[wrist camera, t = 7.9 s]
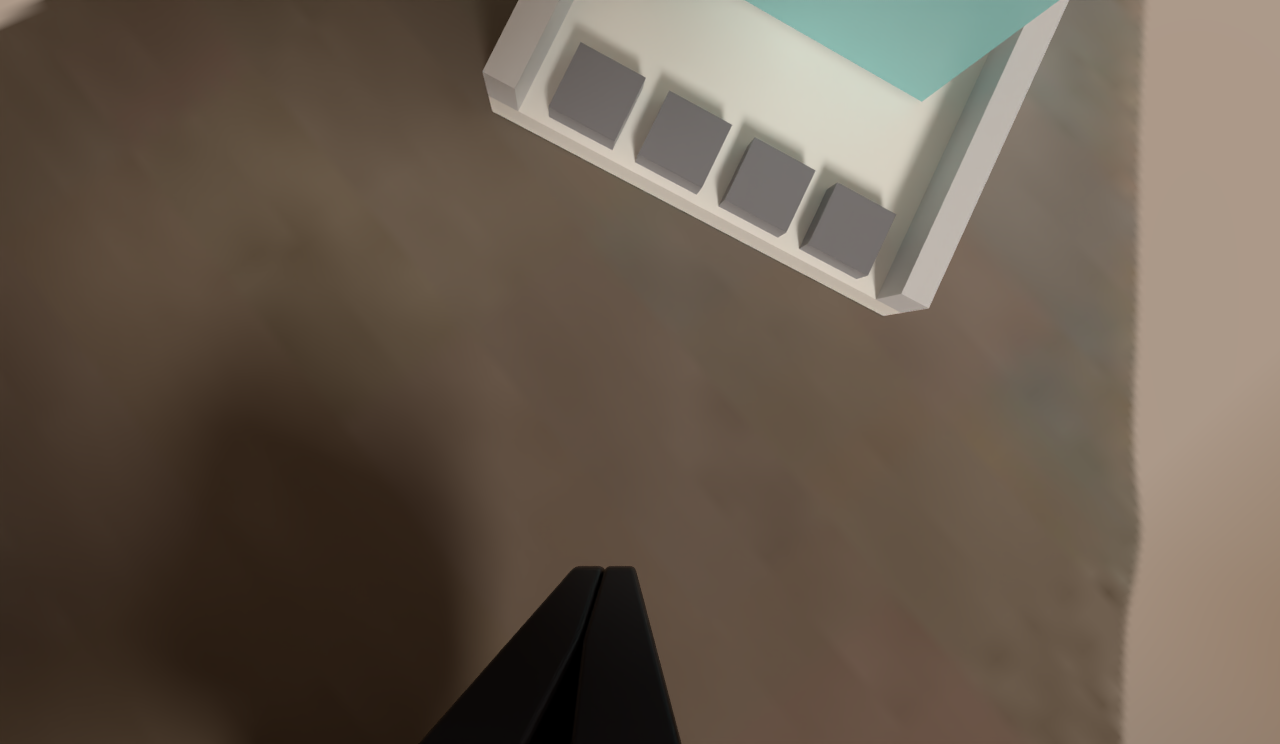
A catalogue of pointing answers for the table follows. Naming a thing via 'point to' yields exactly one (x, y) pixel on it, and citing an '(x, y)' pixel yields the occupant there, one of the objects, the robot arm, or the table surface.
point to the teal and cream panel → (908, 33)
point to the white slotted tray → (769, 131)
